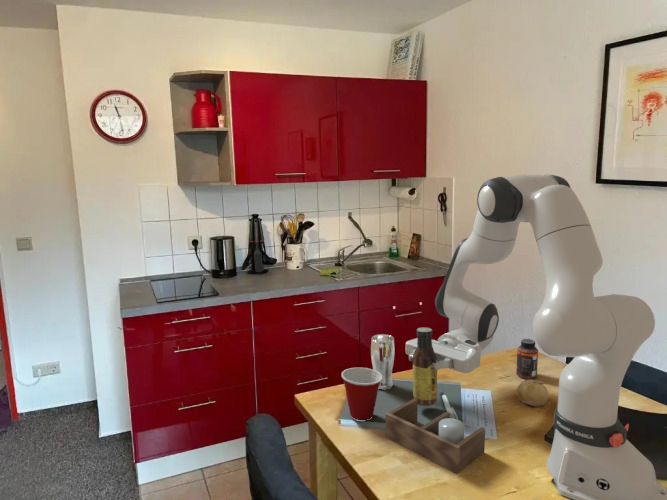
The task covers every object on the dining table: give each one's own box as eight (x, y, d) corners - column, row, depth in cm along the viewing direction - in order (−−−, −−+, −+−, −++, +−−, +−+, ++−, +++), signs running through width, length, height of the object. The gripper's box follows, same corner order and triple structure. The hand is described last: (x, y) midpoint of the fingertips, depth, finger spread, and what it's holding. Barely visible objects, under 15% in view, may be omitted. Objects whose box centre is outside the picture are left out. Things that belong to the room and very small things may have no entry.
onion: (530, 412, 132) (532, 387, 131) (510, 399, 140) (511, 375, 138) (554, 406, 135) (555, 382, 134) (532, 393, 142) (534, 370, 141)
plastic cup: (391, 419, 130) (391, 376, 128) (356, 431, 125) (356, 387, 123) (367, 402, 139) (367, 362, 137) (334, 413, 134) (333, 371, 132)
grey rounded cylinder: (468, 452, 113) (469, 424, 112) (454, 463, 110) (455, 434, 108) (447, 443, 117) (448, 415, 116) (433, 452, 114) (433, 424, 112)
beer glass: (398, 383, 150) (398, 336, 148) (388, 393, 145) (388, 344, 142) (377, 378, 154) (377, 332, 151) (367, 387, 148) (366, 339, 146)
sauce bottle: (437, 408, 129) (437, 334, 125) (412, 406, 130) (411, 333, 127) (437, 396, 135) (437, 326, 132) (413, 395, 136) (413, 325, 133)
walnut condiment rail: (484, 456, 113) (485, 428, 112) (456, 478, 106) (457, 448, 105) (414, 423, 128) (414, 398, 127) (385, 440, 121) (385, 414, 119)
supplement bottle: (539, 379, 151) (542, 344, 149) (520, 380, 151) (521, 344, 149) (532, 371, 157) (534, 337, 155) (513, 371, 157) (515, 337, 155)
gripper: (422, 329, 146) (391, 341, 137) (485, 346, 132) (455, 361, 122) (422, 349, 147) (392, 363, 138) (485, 368, 133) (455, 385, 123)
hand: (422, 362), depth 130 cm, fingers closed on sauce bottle, 6 cm apart
